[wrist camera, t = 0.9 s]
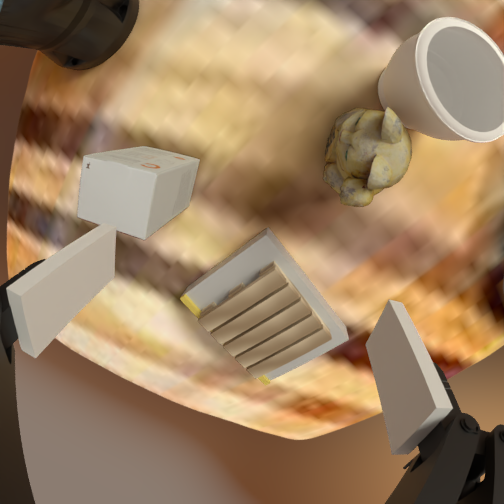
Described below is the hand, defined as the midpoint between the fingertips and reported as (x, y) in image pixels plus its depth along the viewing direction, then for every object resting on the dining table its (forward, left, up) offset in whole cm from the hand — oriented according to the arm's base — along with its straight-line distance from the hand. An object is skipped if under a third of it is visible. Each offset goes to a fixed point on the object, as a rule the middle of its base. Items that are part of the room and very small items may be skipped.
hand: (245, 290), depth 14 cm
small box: (-10, -9, -24) cm, 28 cm away
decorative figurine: (+2, +11, -24) cm, 27 cm away
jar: (0, +21, -24) cm, 32 cm away
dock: (+12, -10, -24) cm, 29 cm away
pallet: (+12, -10, -21) cm, 26 cm away
